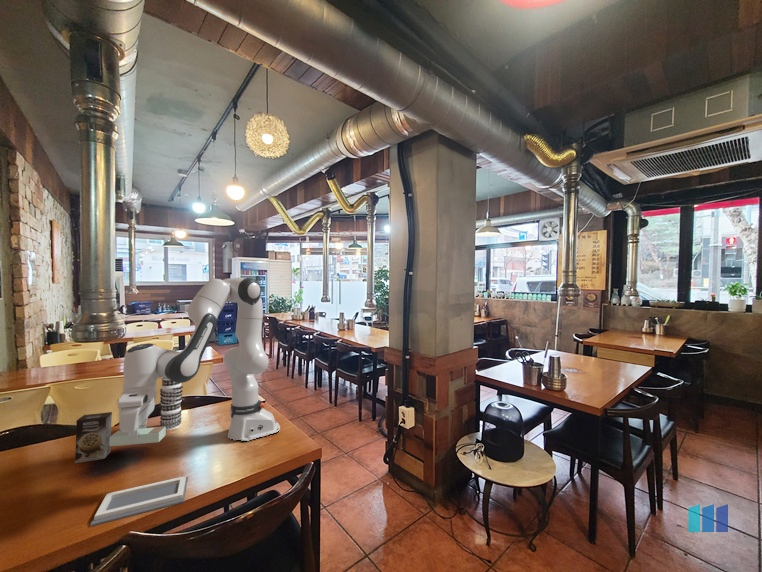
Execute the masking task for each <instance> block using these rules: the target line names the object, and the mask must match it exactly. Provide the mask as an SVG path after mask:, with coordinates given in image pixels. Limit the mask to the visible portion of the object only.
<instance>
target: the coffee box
mask: <svg viewBox="0 0 762 572" xmlns="http://www.w3.org/2000/svg"><path fill="white" fill-rule="evenodd" d="M112 416H113V411H110V412H98V413H92V414H83V415H82V416H80V417H78V419H76V422H75V423H76V424H75V425H76V426H75V429H76V430H75V454H74V464H78V463H85V462H92V461H98V460H104V459H105V458H107V456H108V455H109V454H110V453H111V447H112V446H109V443H110V436H112V418H113V417H112Z"/></svg>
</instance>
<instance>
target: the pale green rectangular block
mask: <svg viewBox="0 0 762 572" xmlns="http://www.w3.org/2000/svg"><path fill="white" fill-rule="evenodd" d="M166 432H167V431H166V427H165V426H164V427H160V426H155V427H146V428H141V429H138V433H139V438H138V439H137V440H133V441H132V440H131V435H130V433H121V431H120V429H119V430H117V431H116V432H114V433H112V434H111V436H110V443H109V446H111V447H118V446H129V445H130V446H131V445H137V444H138V445H140V444H152V443H159V442H160V441H162V439H163V438H165V436H166V435H167V433H166Z"/></svg>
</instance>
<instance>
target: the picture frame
mask: <svg viewBox="0 0 762 572" xmlns="http://www.w3.org/2000/svg"><path fill="white" fill-rule="evenodd" d="M188 479H189V476H187V475H185V476H180V477H179V476H178V477H175V478H171V479H167V480H162V481H161V480H160V481H158V482H152V483H149V484H144V485H139V486H135V487H131V488H126V489H121V490H117V491H113V492H109V493H106V495H105V496H104V499H103V500H102V502H101V504H100V505H99V506H98V507H99V508H98V509H97V511H96V513H95V515H94V517H93V518H92V520H91V522H90V525H89V527H94V526H97V525H101V524H106V523H109V522H114V521H117V520H121V519H122V520H123V519H124V518H128V517H132V516H137V515H140V514H145V513H148V512H152V511H156V510H159V509H160V510H161V509H164V508H167V507H171V506H175V505H180V504H183V503H185V497H186V490H187V484H188Z"/></svg>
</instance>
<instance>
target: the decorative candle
mask: <svg viewBox="0 0 762 572" xmlns="http://www.w3.org/2000/svg"><path fill="white" fill-rule="evenodd" d="M161 382H162V383H161V388H160V389H159V392H160V393H159V395H160V402H159V403H160V405H161V409H160V414H159V415H160V418H159V419H160V421H159V423H160V424H159V427H164V426H165V427H166V430H169V431H173V430H172V429H174V430H176V429H178V427H179V426H180V425H181V426H182V412H183V411H182V407H181V404H182V403H181V402H182V400H183V399H182V398H183V397H181V396H183V390H182V389H183V388H184V387H183V385H182V384H183V383H177V382H174V381H172V380H170V379H166V378H162V377H161ZM181 426H180V427H181ZM180 427H179V428H180ZM175 428H176V429H175Z"/></svg>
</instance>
